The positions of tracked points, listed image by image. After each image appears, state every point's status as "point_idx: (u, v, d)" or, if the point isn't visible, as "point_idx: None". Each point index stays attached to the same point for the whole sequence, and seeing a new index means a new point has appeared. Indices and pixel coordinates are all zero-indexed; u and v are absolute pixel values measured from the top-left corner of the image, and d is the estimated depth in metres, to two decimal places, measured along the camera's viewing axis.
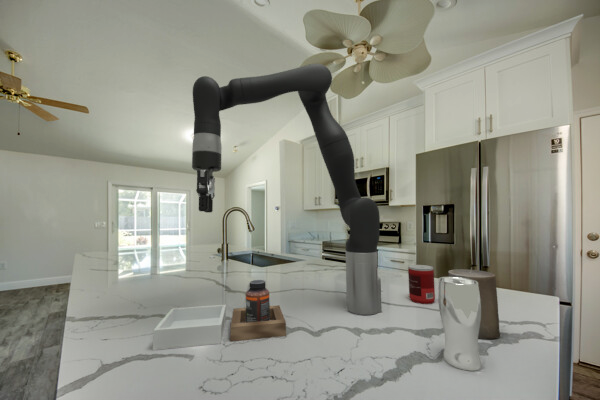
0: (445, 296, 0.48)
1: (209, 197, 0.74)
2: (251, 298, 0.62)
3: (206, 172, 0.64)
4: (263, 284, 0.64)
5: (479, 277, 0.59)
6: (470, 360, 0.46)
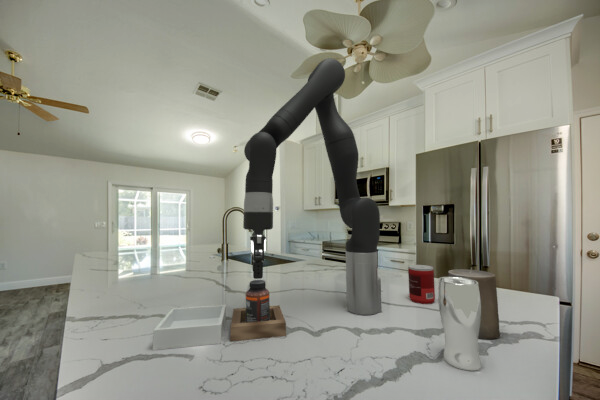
0: (445, 296, 0.48)
1: (257, 255, 0.70)
2: (251, 298, 0.62)
3: (263, 238, 0.60)
4: (263, 284, 0.64)
5: (479, 277, 0.59)
6: (470, 360, 0.46)
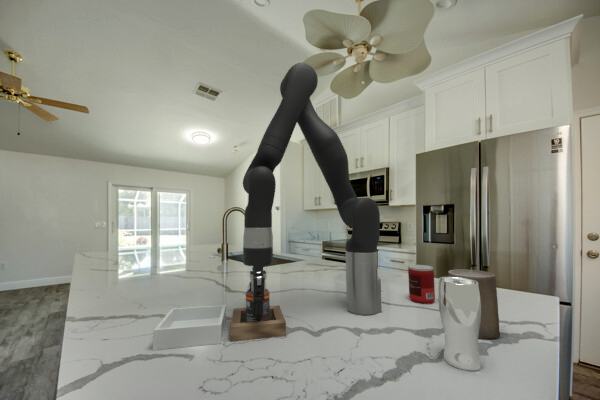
0: (445, 296, 0.48)
1: None
2: (251, 298, 0.62)
3: (263, 280, 0.59)
4: None
5: (479, 277, 0.59)
6: (470, 360, 0.46)
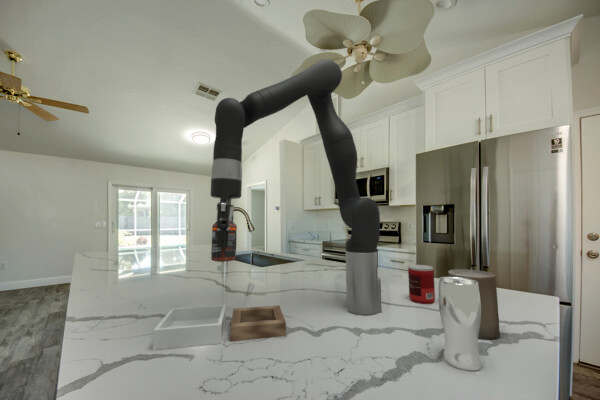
0: (445, 296, 0.48)
1: None
2: (216, 228, 0.62)
3: (227, 207, 0.59)
4: None
5: (479, 277, 0.59)
6: (470, 360, 0.46)
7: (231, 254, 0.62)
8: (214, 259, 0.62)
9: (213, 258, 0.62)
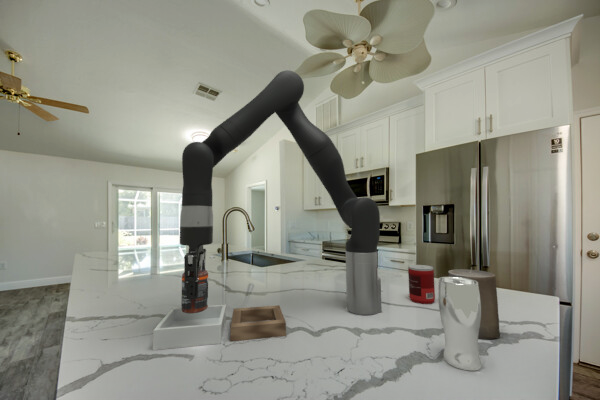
0: (445, 296, 0.48)
1: None
2: None
3: (194, 259, 0.57)
4: None
5: (479, 277, 0.59)
6: (470, 360, 0.46)
7: (201, 305, 0.60)
8: (184, 311, 0.59)
9: (182, 310, 0.60)
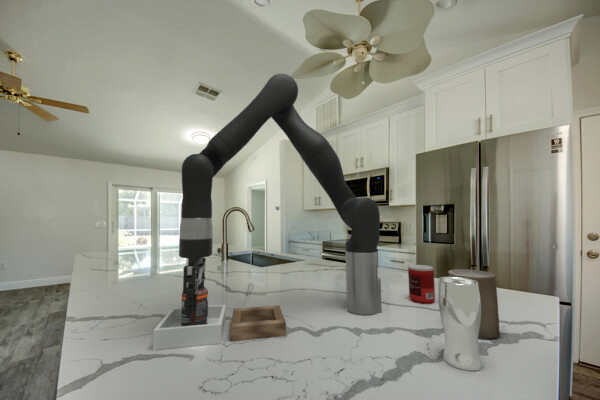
0: (445, 296, 0.48)
1: None
2: (185, 298, 0.60)
3: (194, 270, 0.56)
4: (200, 283, 0.62)
5: (479, 277, 0.59)
6: (470, 360, 0.46)
7: (201, 324, 0.60)
8: None
9: None
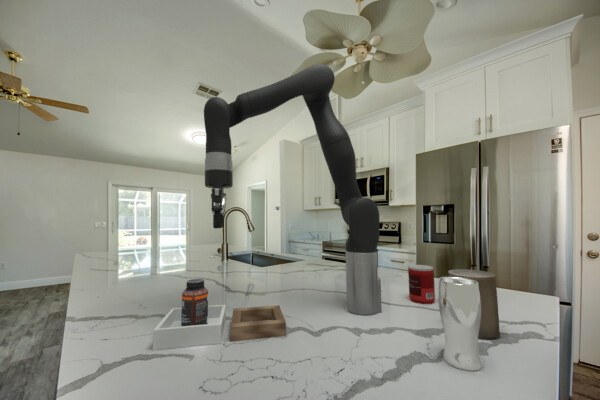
0: (445, 296, 0.48)
1: None
2: (185, 298, 0.60)
3: (220, 191, 0.66)
4: (200, 283, 0.62)
5: (479, 277, 0.59)
6: (470, 360, 0.46)
7: (201, 324, 0.60)
8: None
9: None
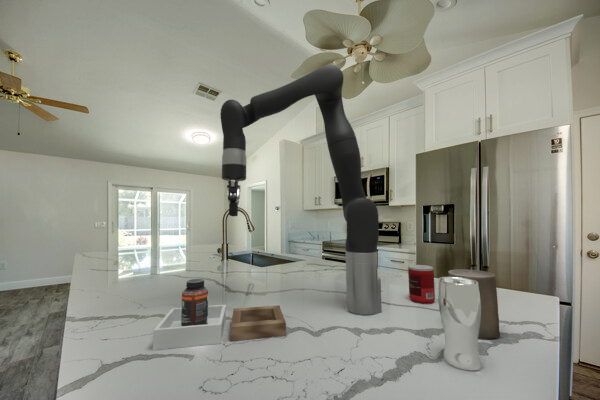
0: (445, 296, 0.48)
1: None
2: (185, 298, 0.60)
3: (236, 182, 0.75)
4: (200, 283, 0.62)
5: (479, 277, 0.59)
6: (470, 360, 0.46)
7: (201, 324, 0.60)
8: None
9: None
